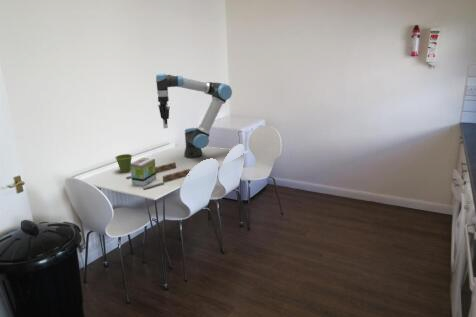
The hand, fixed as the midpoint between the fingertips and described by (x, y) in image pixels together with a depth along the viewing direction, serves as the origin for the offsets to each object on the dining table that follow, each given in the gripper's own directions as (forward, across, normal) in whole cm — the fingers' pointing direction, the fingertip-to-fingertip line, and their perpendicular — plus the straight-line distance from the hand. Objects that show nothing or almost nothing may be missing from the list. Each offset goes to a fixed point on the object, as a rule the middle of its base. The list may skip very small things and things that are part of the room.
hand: (165, 127), depth 261 cm
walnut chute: (+29, +18, -10) cm, 36 cm away
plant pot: (+30, -11, -30) cm, 44 cm away
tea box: (+30, +18, -29) cm, 45 cm away
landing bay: (+29, +18, -29) cm, 45 cm away
